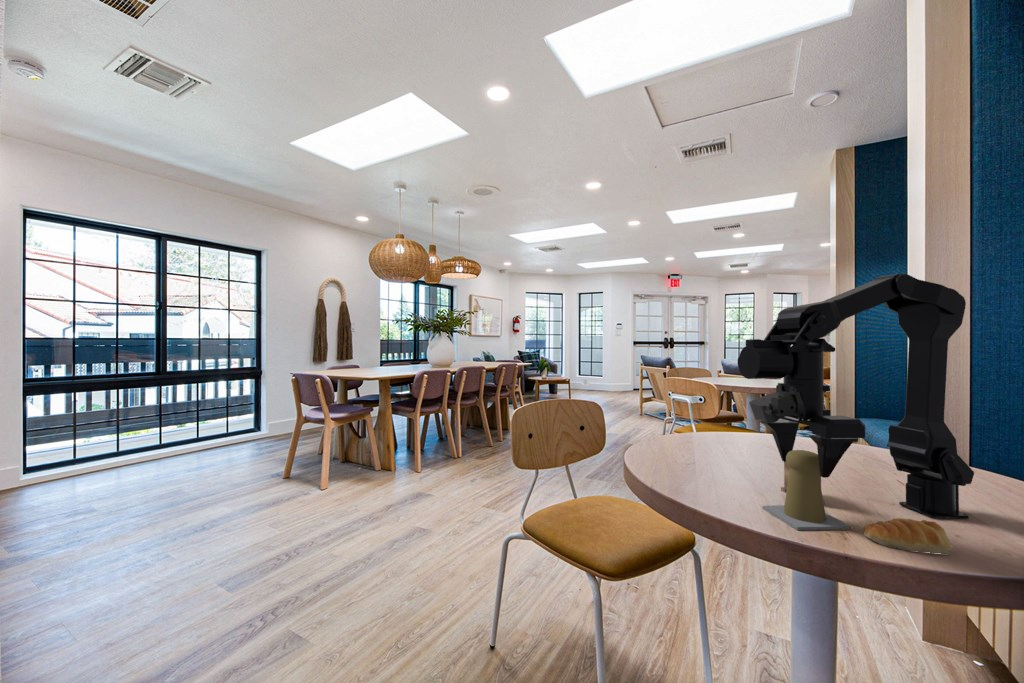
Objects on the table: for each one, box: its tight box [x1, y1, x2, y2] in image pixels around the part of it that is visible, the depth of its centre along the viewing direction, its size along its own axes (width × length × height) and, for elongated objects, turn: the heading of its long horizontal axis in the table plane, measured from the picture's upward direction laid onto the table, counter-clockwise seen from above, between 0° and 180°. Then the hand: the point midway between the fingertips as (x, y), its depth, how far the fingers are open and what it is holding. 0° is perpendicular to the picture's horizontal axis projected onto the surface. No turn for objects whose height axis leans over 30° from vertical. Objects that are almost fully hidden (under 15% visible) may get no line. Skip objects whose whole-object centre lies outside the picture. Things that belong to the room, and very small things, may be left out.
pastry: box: [863, 517, 954, 555], centre depth 63 cm, size 9×7×4 cm
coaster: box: [761, 504, 853, 531], centre depth 72 cm, size 9×9×1 cm
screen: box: [780, 461, 826, 505], centre depth 82 cm, size 3×8×8 cm, turn 2°
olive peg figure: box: [783, 449, 826, 523], centre depth 72 cm, size 6×6×11 cm
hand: (804, 468), depth 72 cm, fingers open, 9 cm apart
